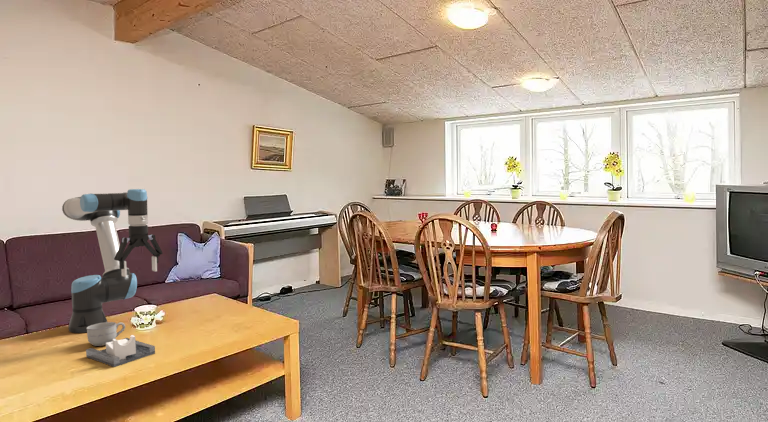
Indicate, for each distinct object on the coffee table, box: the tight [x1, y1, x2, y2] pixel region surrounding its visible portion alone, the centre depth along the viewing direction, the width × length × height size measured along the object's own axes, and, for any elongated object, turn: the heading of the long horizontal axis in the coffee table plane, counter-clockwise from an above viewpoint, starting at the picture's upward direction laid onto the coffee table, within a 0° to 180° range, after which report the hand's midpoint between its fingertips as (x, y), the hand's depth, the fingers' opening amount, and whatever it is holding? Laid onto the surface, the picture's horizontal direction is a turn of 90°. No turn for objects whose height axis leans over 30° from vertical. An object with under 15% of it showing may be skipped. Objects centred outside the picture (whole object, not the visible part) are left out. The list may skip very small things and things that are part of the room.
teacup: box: [86, 321, 126, 347], centre depth 204 cm, size 14×11×8 cm
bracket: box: [105, 334, 136, 360], centre depth 188 cm, size 13×7×8 cm, turn 42°
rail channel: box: [85, 337, 156, 368], centre depth 190 cm, size 19×16×3 cm
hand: (139, 273), depth 214 cm, fingers open, 13 cm apart
